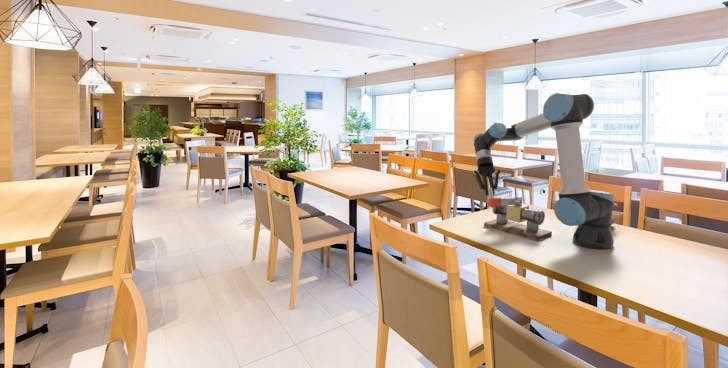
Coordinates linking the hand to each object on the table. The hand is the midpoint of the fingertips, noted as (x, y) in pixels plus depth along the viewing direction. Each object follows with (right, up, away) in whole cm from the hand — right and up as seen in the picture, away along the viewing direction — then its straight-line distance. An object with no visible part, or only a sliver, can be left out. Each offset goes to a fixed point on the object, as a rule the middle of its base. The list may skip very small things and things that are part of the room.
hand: (491, 200), depth 183 cm
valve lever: (+7, -2, -1) cm, 7 cm away
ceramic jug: (+56, -13, +12) cm, 59 cm away
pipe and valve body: (+13, -13, +3) cm, 18 cm away
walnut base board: (+13, -15, +3) cm, 20 cm away
